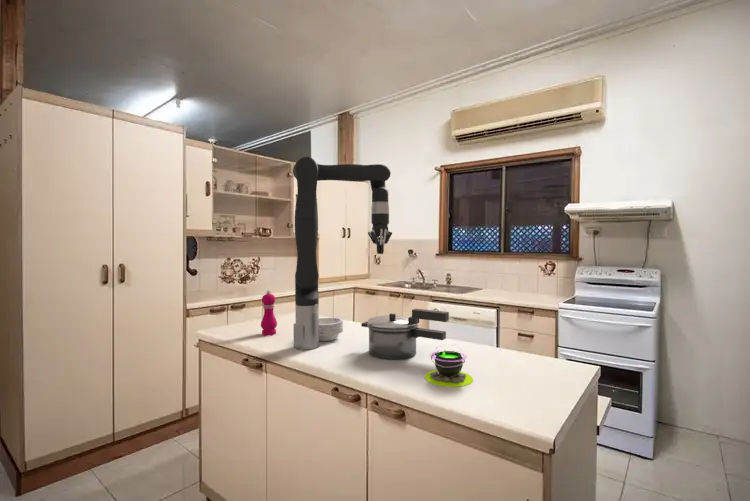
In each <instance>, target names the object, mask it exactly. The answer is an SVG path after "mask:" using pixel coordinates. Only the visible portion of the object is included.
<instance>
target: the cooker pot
mask: <svg viewBox="0 0 750 501" xmlns="http://www.w3.org/2000/svg"><path fill="white" fill-rule="evenodd" d="M360 327H362V328H368V350H369V351H368V353H369V355H370V356H371V357H373V358H375V359H380V360H388V361H399V360H400V361H401V360H408V359H411V358H413V357H415V356H416V355H417V338H424V339H425V338H426V339H432V340H437V341H444V340H446V338H447V332H446V330H439V329H438V330H437V329H430V328H422V327H419V323H417V325H416V326H414V327H410V328H404V329H383V328H376V327H372V326H370V325H368V321H365V322H361V326H360Z"/></svg>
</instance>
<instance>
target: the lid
mask: <svg viewBox="0 0 750 501" xmlns="http://www.w3.org/2000/svg"><path fill="white" fill-rule="evenodd" d="M449 314H450V312H449V311H442V310H435V309H434V310H433V309H423V308H414V309H412V310H411V315H410V316H406V315H397V314H396V313H389V315H378V316H374V317H370V318H368V319H367V322H368V325H370V326H372V327H376V328H383V329H404V328H410V327H414V326H416V325H417V324H419V323H420V320H424V321H432V322H433V321H434V322H435V321H436V322H442V323H446V322H449V321H450V319H449V318H450V317H449V316H450V315H449Z"/></svg>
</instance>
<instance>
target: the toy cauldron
mask: <svg viewBox="0 0 750 501" xmlns="http://www.w3.org/2000/svg"><path fill="white" fill-rule="evenodd" d="M454 345H457V343H455V342H454ZM442 346H444V347H445V346H446V345H445V344H442V345H441V347H442ZM449 346H450V347H451V346H452V347H453V344H452V345H451V344H448V345H447V347H449ZM438 347H440V345H438V346H437V347H435V349H436V352H435V351H434V352H432V354H429V356H430V359H431V361H432V363H434V366H435V369H434V370H430V371H428V372H426V373H425V374H424V379H425V381H427V382H428V383H429V384H432V385H435V386H439V387H445V388H462V387H466V386H469V385H471V384H472V383H473V381H474V378H473V376H472V375H471V374H468V373H467V372H464V371H462V369H463V367H464V366H463V365H464V364H465V362H466V360H467V359H468V356H467V355H466V354H464V353H462V352H460V351H462V348H461V347H459V346H458V348H459V349H460V350H459V351H455V350H446V349H444V350H439V349H438ZM433 359H434V360H433Z"/></svg>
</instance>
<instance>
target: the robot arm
mask: <svg viewBox="0 0 750 501" xmlns="http://www.w3.org/2000/svg"><path fill="white" fill-rule="evenodd" d="M391 173H392V172H391V169H390V168H389V166H387V165H385V164H379V163H378V164H377V163H376V164H357V163H354V164H353V163H340V164H319V163H317V161H316V160H315V159H314V158H313V157H310V156H303V157H300V158H299V159H298V160H297V161H296V162H295V163H294V166H293V168H292V174H293V177H294V178H295V179H296V184H297V185H296V186H297V196H296V203H295V208H294V236H295V245H296V256H297V257H296V268H295V274H294V277H295V278H294V285H295V286H294V287H295V288H294V290H295V294H294V297H295V298H294V300H295V303H294V304H295V308H294V309H295V323H293V348H295V349H297V350H301V351H304V350H313V349H317V348H319V347H320V341H319V318H320V317H319V313H320V312H319V308H320V307H319V300H320V299H319V279H320V278H319V277H320V276H319V270H318V261H317V260H318V259H317V247H318V239H319V238H318V237H319V214H318V212H319V211H318V199H317V188H318V182H319V181H339V182H340V181H342V182H358V183H359V182H360V183H361V182H368V181H369V183H370V188H371V207H370V208H371V214H370V215H371V217H370V218H371V219H370V220H371V222H370V223H371V225H372V227H371V231H368V232H367V235H368V238H369V239H370V240H371V241H372V243H373V245H374V244H375V245H376V254H378V255H383V254H384V251H385V250H384V249H385V244H386V245H387V244H388V242H389V241H390V238H391V237H392V235H393V232H392V231H390V230H389V226H388V225H389V224H390V205H389V190H388V189H387V188H386V181H388V180H389V179H390V177H391Z"/></svg>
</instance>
